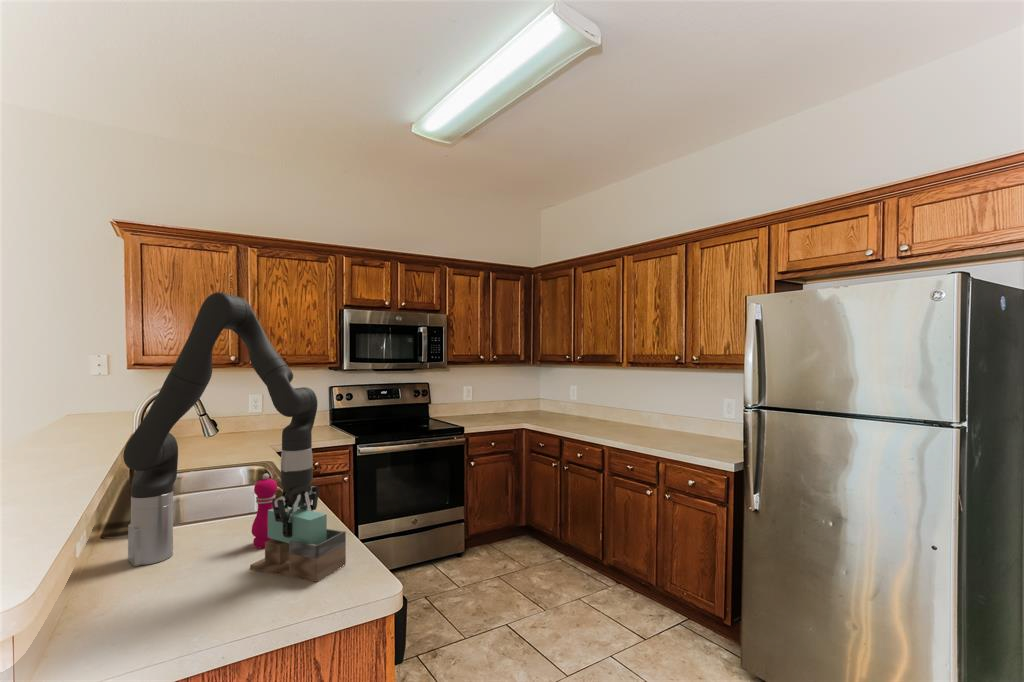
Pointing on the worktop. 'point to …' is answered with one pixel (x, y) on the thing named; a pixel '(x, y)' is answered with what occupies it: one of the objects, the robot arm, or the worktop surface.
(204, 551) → the worktop surface
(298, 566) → the bracket stand
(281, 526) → the teal rectangular block
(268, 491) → the pepper mill
